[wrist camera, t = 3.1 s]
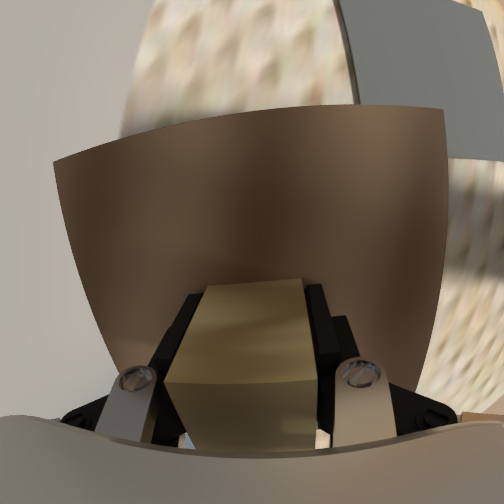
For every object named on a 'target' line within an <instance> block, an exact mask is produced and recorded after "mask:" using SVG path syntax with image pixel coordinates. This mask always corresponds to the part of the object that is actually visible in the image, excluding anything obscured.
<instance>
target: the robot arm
mask: <svg viewBox="0 0 504 504" xmlns="http://www.w3.org/2000/svg"><path fill="white" fill-rule="evenodd" d="M203 295H204V293H197V294H189V295H188V296H187V298H186V300H185V302H184V303H183V305H182V307H181V309H180V311H179V312H178V314H177V316H176V318H175V320H174V321H173V323H172V325H171V327H169V328H168V329H167V331H166V333H165V334H164V336H163V338H162V340H161V342H160V344H159V345H158V347H157V349H156V351H155V353H154V355H153V356H152V358H151V360H150V362H149V364H148V366H144V365H138V366H133V367H130V368H127V369H126V370H124V371H122V372H121V373H120V374H119V375H118V377H117V378H116V380H115V382H114V384H113V387H112V389H111V391H110V394H109V395H107V396H104V397H102V398H100V399H98V400H95V401H93V402H91V403H88V404H86V405H84V406H81V407H79V408H77V409H74V410H72V411H70V412H68V413H67V414H66V415H65V416H64V417H63V418H62V420H60V418H56V419H51V420H49V419H44V418H40V417H35V416H26V415H10V416H5V417H1V418H0V504H504V415H494V414H482V413H471V412H462V414H461V415H456V414H455V412H454V411H453V410H452V409H451V408H450V407H449V406H447V405H445V404H443V403H440V402H438V401H435V400H432V399H430V398H427V397H424V396H422V395H419V394H417V393H414V392H412V391H409V390H407V389H404V388H402V387H399V386H397V385H394V384H392V383H390V382H388V379H387V374H386V370H385V368H384V366H383V365H382V364H381V363H380V362H378V361H377V360H375V359H372V358H368V357H361V356H360V353H359V350H358V347H357V344H356V342H355V339H354V336H353V333H352V330H351V327H350V325H349V322H348V319H347V317H346V315H341V316H332V317H331V314H330V311H329V308H328V304H327V301H326V297H325V294H324V291H323V287H322V284H312V285H307V289H304V295H305V301H306V307H307V313H308V319H309V325H310V331H311V338H312V344H313V351H314V358H315V364H316V371H317V379H318V382H317V418H316V420H317V426H318V429H321V430H323V431H325V432H326V433H328V434H330V439H329V448H324V449H315V450H303V451H286V452H222V451H206V450H193V449H184V444H185V433H186V432H187V431H186V429H185V427H184V425H183V423H182V421H181V419H180V417H179V415H178V413H177V411H176V408H175V406H174V404H173V402H172V400H171V398H170V395H169V393H168V391H167V389H166V386H165V384H164V380H165V378H166V375H167V373H168V371H169V369H170V367H171V364H172V362H173V360H174V358H175V355H176V353H177V351H178V349H179V347H180V344H181V342H182V340H183V338H184V336H185V333H186V331H187V329H188V327H189V325H190V323H191V320H192V318H193V316H194V314H195V312H196V310H197V307H198V305H199V303H200V301H201V299H202V297H203Z"/></svg>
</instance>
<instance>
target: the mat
mask: <svg viewBox="0 0 504 504" xmlns="http://www.w3.org/2000/svg"><path fill="white" fill-rule="evenodd" d="M338 1H339V5H340V9H341V13H342V16H343V20H344V24H345V29H346V33H347V37H348V42H349V46H350V51H351V56H352V61H353V67H354V72H355V78H356V84H357V90H358V97H359V104H367V105H399V106H415V107H427V108H437V109H443V110H444V118H445V127H446V139H447V154H448V158H459V159H476V160H490V161H502V162H504V93H503V87H502V82H501V77H500V72H499V68H498V63H497V59H496V55H495V51H494V48H493V44H492V41H491V37H490V34H489V31H488V28H487V25H486V22H485V19H484V16H483V13H482V11H480V10H477V9H475V8H472V7H469V6H466V5H464V4H461V3H458V2H455V1H452V0H338Z"/></svg>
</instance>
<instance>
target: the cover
mask: <svg viewBox="0 0 504 504" xmlns="http://www.w3.org/2000/svg"><path fill="white" fill-rule="evenodd" d="M53 165H54V172H55V177H56V183H57V189H58V194H59V199H60V204H61V209H62V213H63V218H64V222H65V226H66V230H67V234H68V238H69V242H70V245H71V249H72V253H73V256H74V259H75V263H76V266H77V269H78V272H79V276H80V278H81V281H82V284H83V288H84V290H85V293H86V296H87V299H88V301H89V304H90V307H91V309H92V312H93V315H94V317H95V320H96V322H97V325H98V327H99V330H100V332H101V334H102V337H103V339H104V341H105V344H106V346H107V348H108V351H109V353H110V355H111V357H112V359H113V361H114V364H115V366H116V367H117V370H118V372H119V374H120V373H121V372H122V371H124V370H126V369H127V368H130V367H133V366H138V365H144V366H148V364H149V362H150V360H151V358H152V356H153V355H154V353H155V351H156V349H157V347H158V345H159V344H160V342H161V340H162V338H163V336H164V334H165V333H166V331H167V329H168V328H169V327H171V325H172V323H173V321H174V320H175V318H176V316H177V314H178V312H179V311H180V309H181V307H182V305H183V303H184V302H185V300H186V298H187V296H188V295H189V294H197V293H204V295H203V297H202V299H201V301H200V303H199V305H198V307H197V310H196V312H195V314H194V316H193V318H192V320H191V323H190V325H189V327H188V329H187V331H186V333H185V336H184V338H183V340H182V342H181V344H180V347H179V349H178V351H177V353H176V355H175V358H174V360H173V362H172V364H171V367H170V369H169V371H168V373H167V375H166V378H165V380H164V384H165V386H166V389H167V391H168V393H169V395H170V398H171V400H172V402H173V404H174V406H175V408H176V411H177V413H178V415H179V417H180V419H181V421H182V423H183V425H184V427H185V429H186V431H187V433H188V435H189V437H190V439H191V441H192V443H193V445H194V447H195V448H196V450H206V451H222V452H286V451H303V450H315V439H316V430H317V429H318V426H317V420H316V418H317V382H318V379H317V371H316V364H315V358H314V351H313V344H312V338H311V331H310V325H309V319H308V313H307V307H306V301H305V295H304V289H307V285H312V284H322V287H323V291H324V294H325V297H326V301H327V304H328V308H329V311H330V314H331V317H332V316H341V315H346V317H347V319H348V322H349V325H350V327H351V330H352V333H353V336H354V339H355V342H356V344H357V347H358V350H359V353H360V356H361V357H368V358H372V359H375V360H377V361H378V362H380V363H381V364H382V365H383V366H384V368H385V370H386V374H387V379H388V382H390V383H392V384H394V385H397V386H399V387H402V388H404V389H407V390H409V391H412V392H414V393H415V391H416V388H417V385H418V382H419V378H420V375H421V372H422V368H423V365H424V361H425V358H426V354H427V350H428V346H429V342H430V338H431V334H432V330H433V325H434V321H435V316H436V311H437V305H438V300H439V294H440V288H441V281H442V274H443V267H444V258H445V248H446V237H447V221H448V154H447V139H446V127H445V118H444V110H443V109H437V108H427V107H415V106H399V105H367V104H350V105H318V106H301V107H288V108H277V109H268V110H259V111H251V112H244V113H237V114H230V115H224V116H218V117H212V118H206V119H201V120H196V121H191V122H186V123H181V124H177V125H172V126H168V127H163V128H159V129H155V130H151V131H147V132H143V133H140V134H136V135H132V136H129V137H125V138H122V139H118V140H115V141H112V142H109V143H105V144H102V145H99V146H96V147H93V148H90V149H87V150H84V151H81V152H78V153H76V154H73V155H70V156H68V157H65V158H62V159H60V160H57V161H55V162H53Z"/></svg>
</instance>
